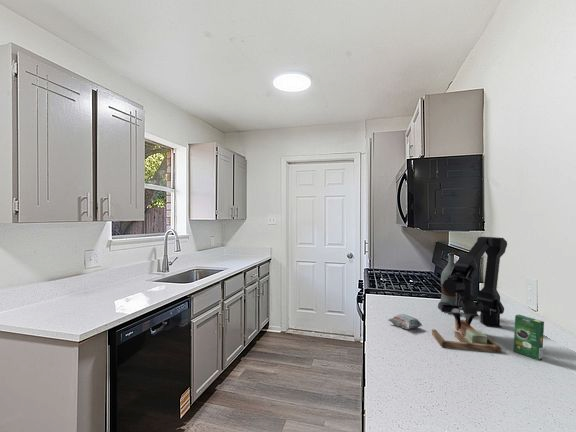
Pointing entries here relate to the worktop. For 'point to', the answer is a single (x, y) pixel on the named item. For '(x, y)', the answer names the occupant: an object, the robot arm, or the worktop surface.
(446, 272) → the bottle
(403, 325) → the packaged food
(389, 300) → the worktop surface
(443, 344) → the lane rack
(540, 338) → the coffee box
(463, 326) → the block
